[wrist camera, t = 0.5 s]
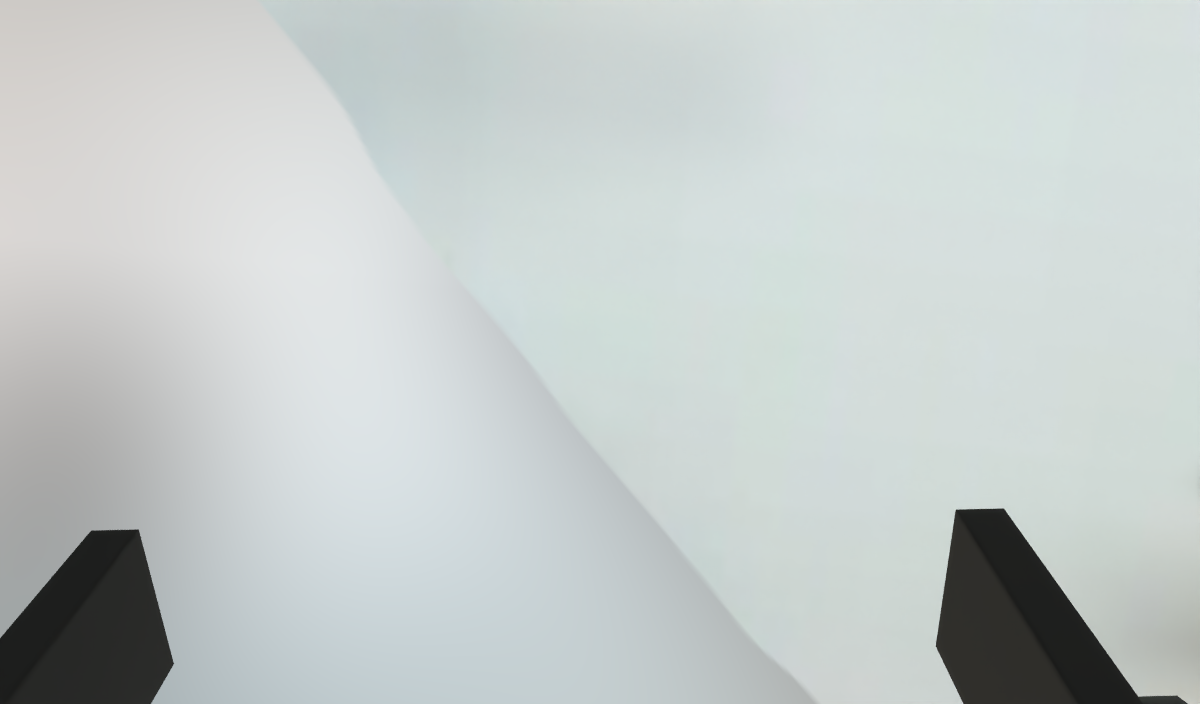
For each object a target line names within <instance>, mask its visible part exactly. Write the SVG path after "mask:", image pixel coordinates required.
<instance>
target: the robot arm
mask: <svg viewBox="0 0 1200 704" xmlns="http://www.w3.org/2000/svg"><path fill="white" fill-rule="evenodd" d="M936 647H937V650H938V652H939V654H940V656H941V658H942V660H943V662H944V664H945V666H946V668H947V670H948V672H949V674H950V677H951V679H952V681H953V683H954V685H955V687H956V689H957V691H958V693H959V695H960V697H961V699H962V702H963V704H1187V703H1186V702H1185V701H1183V700H1182V699H1181V698H1179V697H1178V696H1144V697H1138V696H1137V694H1136V693H1135V692H1134V690H1133V689H1132V687H1131V686H1130V685H1129V683H1128V682H1127V680H1126V679H1125V678H1124V676H1123V675H1122V673H1121V672H1120V671H1119V669H1118V668H1117V666H1116V665H1115V664H1114V662H1113V661H1112V659H1111V658H1110V657H1109V655H1108V654H1107V652H1106V651H1105V650H1104V648H1103V647H1102V645H1101V644H1100V643H1099V641H1098V640H1097V638H1096V637H1095V636H1094V634H1093V633H1092V631H1091V630H1090V629H1089V627H1088V626H1087V624H1086V623H1085V622H1084V620H1083V619H1082V617H1081V616H1080V615H1079V613H1078V612H1077V610H1076V609H1075V608H1074V606H1073V605H1072V603H1071V602H1070V601H1069V599H1068V598H1067V596H1066V595H1065V594H1064V592H1063V591H1062V589H1061V588H1060V587H1059V585H1058V584H1057V582H1056V581H1055V580H1054V578H1053V577H1052V575H1051V574H1050V573H1049V571H1048V570H1047V568H1046V567H1045V566H1044V564H1043V563H1042V561H1041V560H1040V559H1039V557H1038V556H1037V554H1036V553H1035V552H1034V550H1033V549H1032V547H1031V546H1030V545H1029V543H1028V542H1027V540H1026V539H1025V538H1024V536H1023V535H1022V533H1021V532H1020V531H1019V529H1018V528H1017V526H1016V525H1015V524H1014V522H1013V521H1012V519H1011V518H1010V517H1009V515H1008V514H1007V512H1006V511H1005V510H1004V509H966V510H956V512H955V519H954V526H953V533H952V539H951V546H950V553H949V560H948V567H947V573H946V580H945V587H944V594H943V601H942V607H941V614H940V621H939V628H938V635H937V641H936ZM173 664H174V663H173V659H172V655H171V651H170V648H169V644H168V640H167V636H166V632H165V629H164V625H163V621H162V617H161V613H160V609H159V606H158V602H157V598H156V594H155V590H154V586H153V583H152V579H151V575H150V571H149V567H148V563H147V560H146V556H145V552H144V548H143V545H142V541H141V537H140V533H139V530H104V531H103V530H102V531H91V532H90V533H89V534H88V535H87V536H86V537H85V539H84V540H83V541H82V542H81V543H80V545H79V546H78V547H77V548H76V549H75V551H74V552H73V553H72V554H71V555H70V556H69V558H68V559H67V560H66V561H65V562H64V563H63V565H62V566H61V567H60V568H59V569H58V571H57V572H56V573H55V574H54V575H53V576H52V578H51V579H50V580H49V581H48V583H47V584H46V585H45V586H44V587H43V588H42V590H41V591H40V592H39V593H38V594H37V596H36V597H35V598H34V599H33V600H32V601H31V603H30V604H29V605H28V606H27V607H26V609H25V610H24V611H23V612H22V613H21V615H20V616H19V617H18V618H17V619H16V620H15V621H14V623H13V624H12V625H11V626H10V627H9V629H8V630H7V631H6V632H5V634H4V635H3V636H2V637H1V638H0V704H151V702H152V701H153V699H154V697H155V695H156V694H157V692H158V690H159V689H160V687H161V685H162V684H163V681H164V680H165V678H166V677H167V675H168V673H169V671H170V669H171V668H172V666H173Z"/></svg>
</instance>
